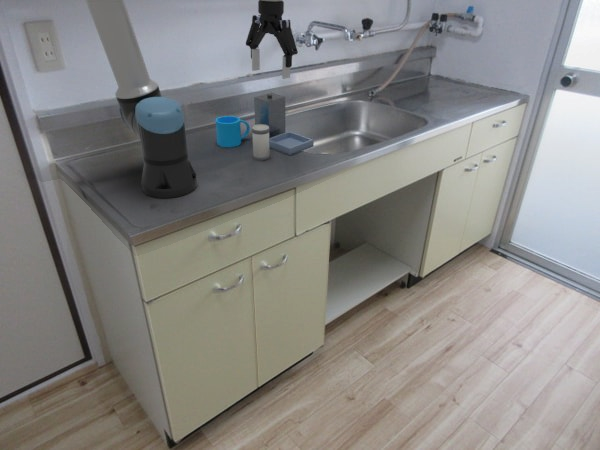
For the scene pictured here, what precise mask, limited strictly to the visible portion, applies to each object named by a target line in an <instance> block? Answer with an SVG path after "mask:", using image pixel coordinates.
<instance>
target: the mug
mask: <svg viewBox="0 0 600 450" xmlns="http://www.w3.org/2000/svg"><path fill="white" fill-rule="evenodd" d="M241 123H243V124H244V125H245V126H246V131H245V132H244V133H243V135H242V133H241V132H242V130H241ZM250 129H251V128H250V124H249V123H248V122H247V121H246V120H243V119H241V118H239V117H238V116H234V115H224V116H219V117H216V118H215V130H216V141H217V142H216V143H217V145H218V146H219V147H222V148H234V147H239V146H241V144H242V139H244V138H246V137H247V135H249V133H250Z"/></svg>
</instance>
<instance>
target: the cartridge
mask: <svg viewBox="0 0 600 450" xmlns="http://www.w3.org/2000/svg"><path fill="white" fill-rule="evenodd" d="M251 134H252V151H253V152H252V153H253V154H252V159H253V160H256V161H267V160H269V159H270V158H271V154H270V148H269V126H268V125H264V124H258V125H255V124H254V125H252V127H251Z"/></svg>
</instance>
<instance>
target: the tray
mask: <svg viewBox="0 0 600 450" xmlns="http://www.w3.org/2000/svg"><path fill="white" fill-rule="evenodd" d="M314 143H315V142H314V139H312V138H309V137H307V136H304V135H301V134H299V133H295V132H293V131H290V130H288V131H285V133H283V134H280V135H277V136H274V137H272V138H269V149H271V150H274V151H277V152H280V153H282V154H284V155H288V156H293V155H296V154H298V153H300V152H303V151H305V150H308V149H310V148H313V147H314Z"/></svg>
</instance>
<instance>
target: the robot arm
mask: <svg viewBox="0 0 600 450" xmlns="http://www.w3.org/2000/svg"><path fill="white" fill-rule="evenodd" d="M85 3H86V5H87V7H88V10H89V13H90V16H91V18H92V21H93V23H94V26H95V29H96V31H97V34H98V36H99V39H100V42H101V45H102V46H103V50H104V53H105V55H106V57H107V60H108V63H109V66H110V68H111V71H112V74H113V76H114V79H115V81H116V85H117V86H118V87H117V90H116V92H114V93H115V97H116V98H115V99H116V100H117V103H118V105H119V106H118V107H119V108H118V109H119V111H118V112H119V115H120V117H121V120H122V122H123V123H124V125H125V126H126V127H127V128H128V129H129V130H130V131H132V132H133V134H134V135H136V137H137V138H138V139H139V141H140V145H141V152H142V156H143V157H142V158H143V163H144V164H143V168H142V173H141V178H140V179H141V180H140V185H141V189H142V192H143V193H144V194H145V195H147V196H149V197H153V198H157V199H158V198H159V199H160V198H161V199H172V198H177V197H181V196H184V195H187V194H190V193H192V192H193V191H195V189H196V188H197V187H198V184H199V181H198V176H197V172H196V170H195V169H194V167H193V165H192V163H191V160H190V158H189V152H188V145H187V135H186V128H185V115H184V114H185V113H183V108H182V106H181V104H180V103H179V102H178V101H177V100H175V99H173V98H167V97H164V96H162V93H161V90H160V88H159V84H158V83H157V82H156V81H154V80H152V79H151V78H150V75H149V71H148V69H147V67H146V62H145V60H144V57H143V54H142V51H141V47H140V46H139V41H138V39H137V36H136V33H135V30H134V27H133V23H132V21H131V18H130V15H129V12H128V10H127V9H128V8H127V5H126V2H125V0H85ZM284 3H285V2H284V0H258V1H257V4H258V5H257V6H258V7H257V8H258V10H257V12H258V14H256V15H255V14H254V15H252V18H251V25H250V28H249V32H248V34H247V37H246V41H245V45H246V47H249V49H250V59H251V71H253V72H254V71H260V68H261V67H260V66H261V65H260V61H261V60H260V59H261V58H260V50H261V49H260V48H259V46H260V44H261V42H262V40H263V39H264V37H265V36H266V34H270V35H273V36H274V37H275V39H276V41H277V42H278V44H279V46H280V48H281V50H282V53H283V55H282V65H281V66H282V70H281V72H282V74H281V75H282V77H281V78H282V79H289V78H291V67H292V66H293V56H296V55H298V48H297V44H296V41H295V38H294V35H293V31H292V28H291V20H290V19H283V18H282V17H283V15H284V14H285V13H284V12H285V11H284V9H285V7H284V6H285V5H284Z"/></svg>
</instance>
